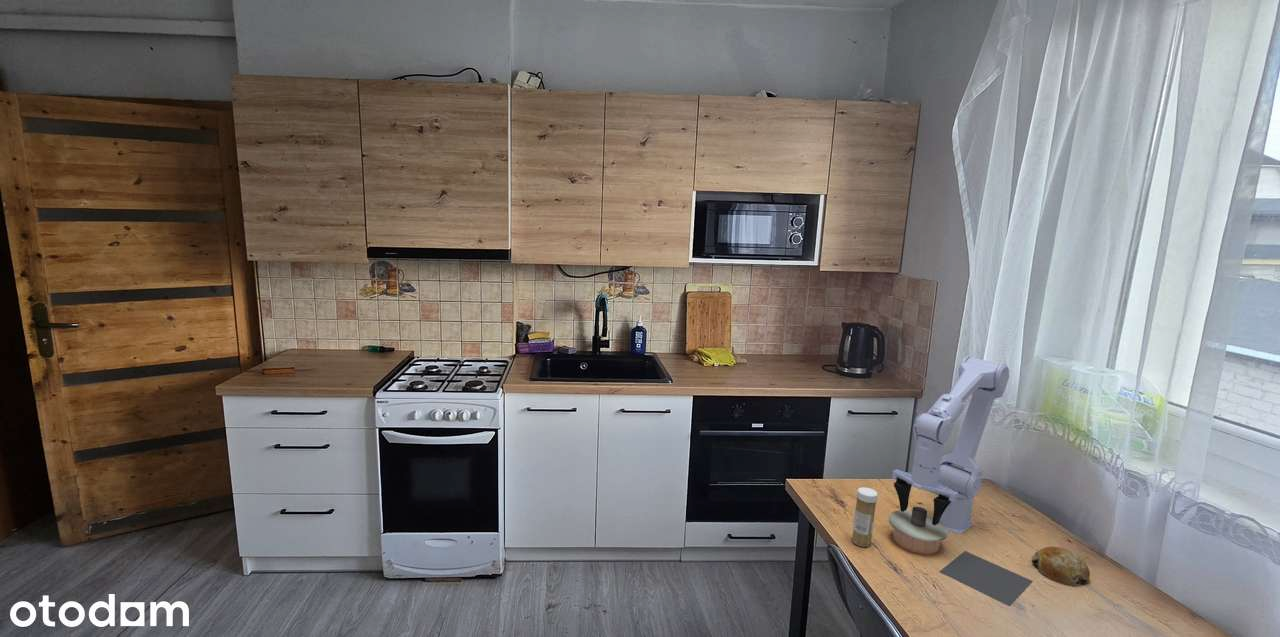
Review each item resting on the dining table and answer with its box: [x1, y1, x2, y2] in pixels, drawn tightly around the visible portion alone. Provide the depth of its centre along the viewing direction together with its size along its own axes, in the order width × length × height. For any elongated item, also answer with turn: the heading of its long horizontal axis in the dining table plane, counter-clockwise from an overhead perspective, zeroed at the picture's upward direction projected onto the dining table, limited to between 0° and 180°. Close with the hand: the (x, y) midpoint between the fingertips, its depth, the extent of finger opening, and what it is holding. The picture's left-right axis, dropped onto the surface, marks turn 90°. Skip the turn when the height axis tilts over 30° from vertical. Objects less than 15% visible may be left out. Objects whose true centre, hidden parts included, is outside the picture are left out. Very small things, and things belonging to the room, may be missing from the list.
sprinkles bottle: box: [851, 487, 879, 548], centre depth 137 cm, size 5×5×14 cm
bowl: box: [892, 528, 941, 555], centre depth 138 cm, size 10×10×4 cm
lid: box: [888, 506, 949, 542], centre depth 138 cm, size 13×13×4 cm
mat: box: [938, 550, 1034, 607], centre depth 126 cm, size 14×14×1 cm
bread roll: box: [1031, 546, 1091, 588], centre depth 128 cm, size 10×10×8 cm
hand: (919, 516), depth 138 cm, fingers open, 7 cm apart
